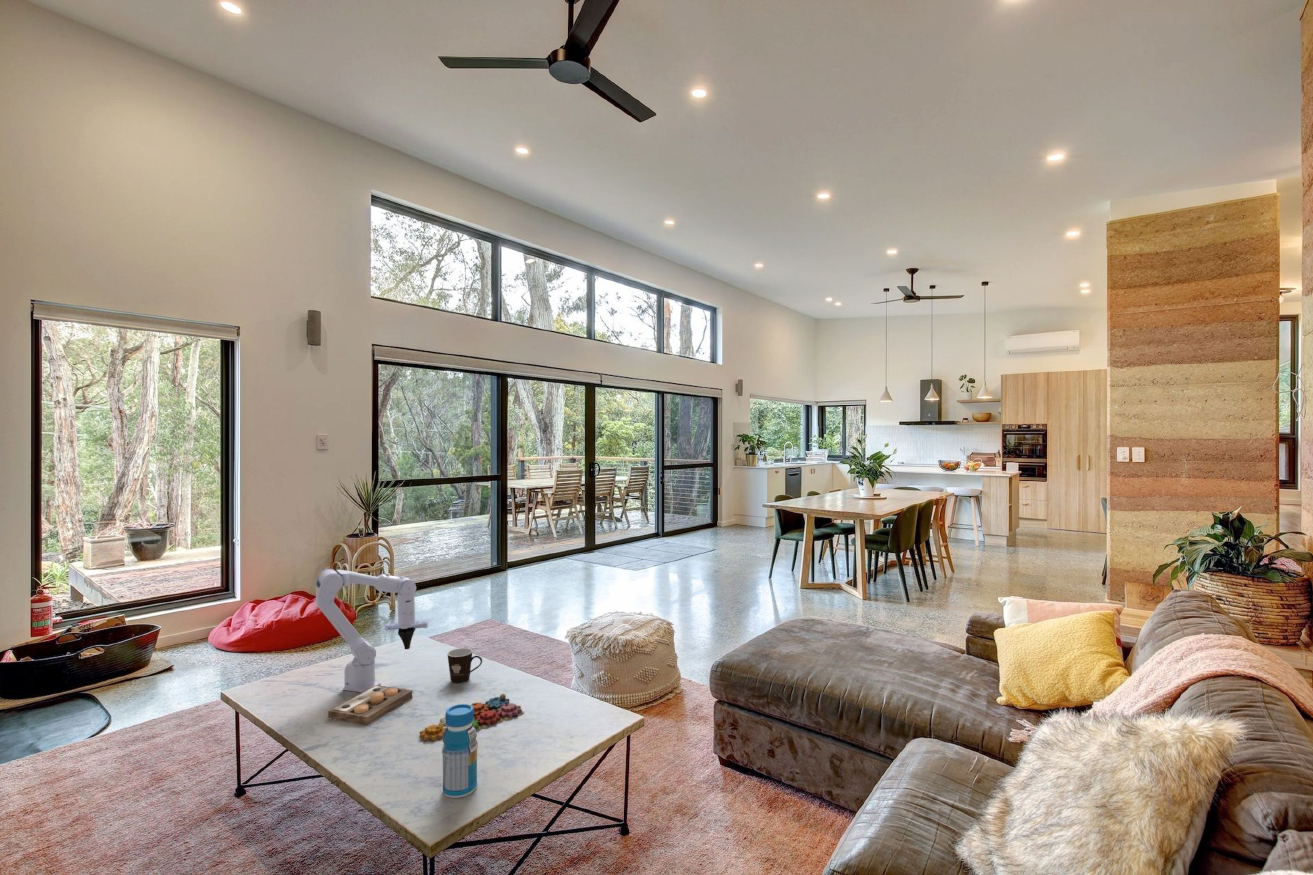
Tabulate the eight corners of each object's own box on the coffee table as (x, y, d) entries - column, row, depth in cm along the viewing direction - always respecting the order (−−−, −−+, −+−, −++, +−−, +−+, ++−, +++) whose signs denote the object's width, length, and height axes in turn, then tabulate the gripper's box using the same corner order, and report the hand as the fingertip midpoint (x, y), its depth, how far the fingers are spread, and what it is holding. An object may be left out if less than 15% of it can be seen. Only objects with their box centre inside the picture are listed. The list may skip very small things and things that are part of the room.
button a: (351, 716, 185) (351, 709, 185) (361, 710, 189) (361, 703, 189) (361, 718, 184) (361, 710, 184) (371, 712, 188) (371, 705, 188)
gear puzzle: (430, 751, 168) (430, 736, 168) (407, 730, 180) (407, 717, 180) (526, 715, 190) (526, 702, 189) (500, 698, 201) (500, 686, 201)
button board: (328, 718, 186) (328, 709, 186) (375, 692, 205) (375, 683, 205) (367, 725, 182) (367, 716, 182) (412, 697, 201) (412, 689, 201)
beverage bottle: (448, 803, 143) (447, 720, 143) (437, 786, 150) (437, 707, 150) (482, 791, 148) (482, 710, 148) (471, 775, 155) (470, 698, 155)
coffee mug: (442, 681, 214) (442, 654, 214) (460, 673, 221) (460, 646, 221) (466, 688, 208) (466, 659, 208) (483, 679, 216) (483, 651, 216)
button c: (381, 698, 198) (381, 692, 198) (390, 693, 202) (390, 687, 202) (391, 700, 197) (391, 693, 197) (400, 695, 201) (400, 688, 201)
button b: (367, 703, 192) (367, 696, 192) (376, 698, 196) (376, 691, 196) (377, 704, 191) (377, 698, 191) (386, 699, 194) (386, 692, 194)
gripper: (382, 615, 213) (383, 653, 213) (424, 613, 215) (425, 650, 215) (388, 610, 220) (389, 646, 220) (429, 607, 222) (430, 643, 222)
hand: (407, 648), depth 218 cm, fingers closed
